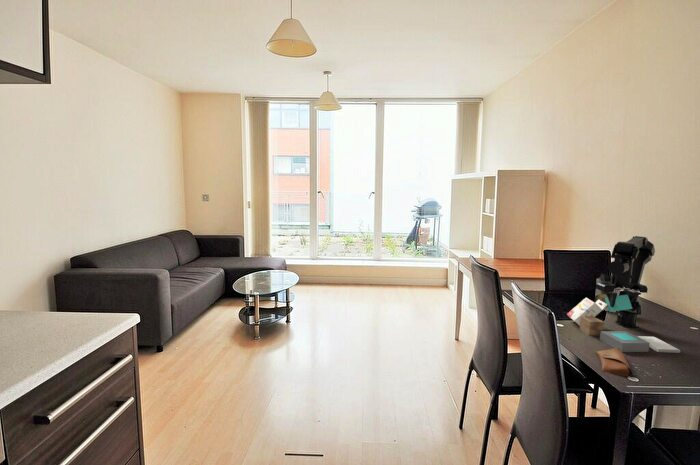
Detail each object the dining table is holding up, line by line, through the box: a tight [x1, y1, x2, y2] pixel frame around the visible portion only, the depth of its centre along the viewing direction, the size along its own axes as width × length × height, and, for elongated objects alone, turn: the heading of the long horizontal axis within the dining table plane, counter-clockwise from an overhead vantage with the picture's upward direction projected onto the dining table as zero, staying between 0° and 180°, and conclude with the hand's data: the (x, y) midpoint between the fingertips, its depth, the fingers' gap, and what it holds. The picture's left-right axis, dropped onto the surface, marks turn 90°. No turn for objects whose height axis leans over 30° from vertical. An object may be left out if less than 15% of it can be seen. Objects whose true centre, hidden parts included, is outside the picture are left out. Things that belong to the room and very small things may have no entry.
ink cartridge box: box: [566, 297, 607, 327], centre depth 165 cm, size 9×5×15 cm
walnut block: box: [579, 316, 605, 336], centre depth 157 cm, size 6×6×6 cm
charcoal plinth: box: [599, 330, 650, 353], centre depth 144 cm, size 11×11×4 cm
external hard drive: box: [636, 335, 681, 354], centre depth 145 cm, size 2×8×12 cm
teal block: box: [605, 295, 632, 313], centre depth 157 cm, size 6×6×6 cm
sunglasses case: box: [594, 347, 633, 378], centre depth 129 cm, size 18×7×7 cm
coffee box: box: [594, 277, 621, 314], centre depth 186 cm, size 9×6×16 cm
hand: (619, 306), depth 157 cm, fingers closed on teal block, 6 cm apart
